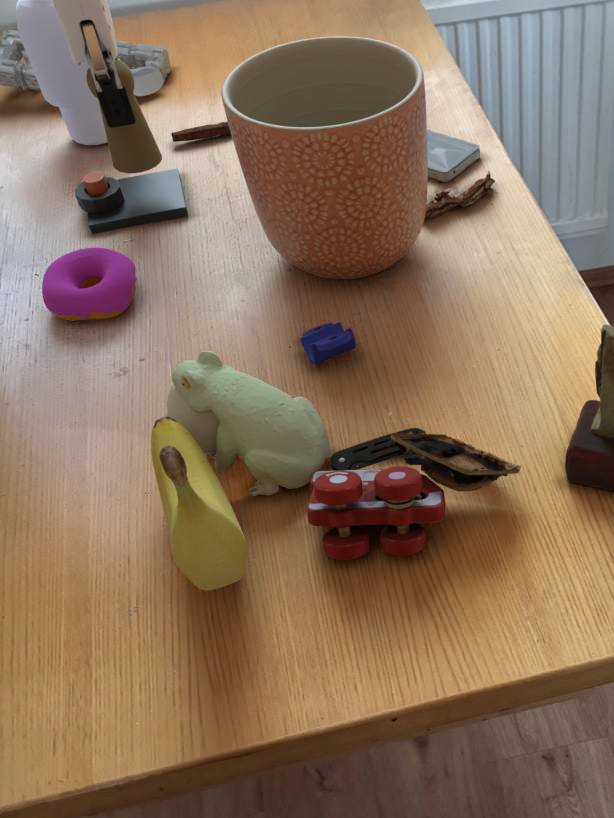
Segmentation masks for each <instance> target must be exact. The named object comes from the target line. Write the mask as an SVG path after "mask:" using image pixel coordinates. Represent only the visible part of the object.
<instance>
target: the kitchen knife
mask: <svg viewBox="0 0 614 818" xmlns="http://www.w3.org/2000/svg"><path fill="white" fill-rule="evenodd" d="M230 134H231V132H230V128H229V125H228V121H221V122H218V123H213V124H212V123H211V124H203V125H200V126H195V127H189V128H185V129H181V130H177V131H175V132H171V133H170V135H171V138H172V142H173V143H176V142H189V141H190V142H191V141H197V140H205V139H211V138H215V137H218V136H227V135H230Z"/></svg>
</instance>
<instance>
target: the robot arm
mask: <svg viewBox="0 0 614 818" xmlns="http://www.w3.org/2000/svg"><path fill="white" fill-rule="evenodd" d="M53 3H54V6H55V8H56V11H57V14H58V17H59V20H60V23H61V26H62V29H63V32H64V35H65V38H66V41H67V44H68V47H69V50H70V53H71V56H72V59H73V62H74V63H75V64H76V65H78V66H81V63H84V61H85V55H86V58H87V61H88V65H89V67H90V70H91V74H92V77H93V80H94V83H95V86H96V89H97V90H96V93H97V96H98V99H99V102H100V104H101V107H102V110H103V113H104V116H105V119H106V121H107V124H108V126H109V127H110V128H114V127H120V126H125V125H131V124H135V122H136V120H135V116H134V113H133V110H132V107H131V104H130V101H129V98H128V95H127V92H126V88H125V85H122V84H121V81H120V78H119V75H118V71H117V68H116V65H115V62H114V60H118V58H117V55H118V52H117V45H116V40H117V39H116V33H115V28H114V22H113V17H112V14H111V9H110V6H109V1H108V0H53ZM90 56H91V57H90ZM106 64H110V67H111V70H112V72H111V70H110V69H107V66H106Z"/></svg>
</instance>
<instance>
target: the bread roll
mask: <svg viewBox="0 0 614 818" xmlns="http://www.w3.org/2000/svg"><path fill="white" fill-rule="evenodd" d="M394 433H395V432H394ZM390 434H391V439H392V440H394V442H393V443H394V445H395V446H398V447H399V448H400V450H401V451H402V452H403V459H404V461H405V462H404V463H405V465H409V466H420V470H421V471H422V472H424V473H425V474H426V476H427V477H428V478H429V479H430V480H432V481H433V482H434V483H436V484H438V485H441V486H443V487H446V488H447V489H449V490H452V491H456V492H474V491H479V490H481V489H482V488H484V487H488V486H489V485H491V484H492V483H494V482H495V481H498V479H499V478H501V477H508V476H509V475H517V474H520V473H519V472H520V471H521V468H522V464H520V465H519V464H516V463H512V462H510V461H508V460H506V459H503V458H502V457H499V456H498V455H496V454H494V453H492V452H490V451H487V450H483V449H479V448H478V449H477V448H476V446H474V445H473V444H471V443H467V442H466V443H465V440H464V441H462V440H461V439H459V438H454V437H452V436H448V435H446V434H443V433H442V434H436V433H433V434H431V433H428V434H427V432H426V433H421V434H416V435H414V434H413V433H407V434H404V433H403V434H398V433H395V434H392V433H390Z"/></svg>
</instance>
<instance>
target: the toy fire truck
mask: <svg viewBox="0 0 614 818" xmlns="http://www.w3.org/2000/svg"><path fill="white" fill-rule="evenodd" d="M309 488H310V498H309V500H308V501H309V502H308V504H307V508H306V513H307V521H308V524H309V525H310V526H313V527H332V528H331V529H329V530H328V531H326V532H325V533H324V534H323V536H322V547H323V551H324V553H325V555H326V556H327V557H329V558H331V559H334V560H339V561H349V560H354V559H358V558H360V557H362V556H364V555H365V554H367V553H368V551H370V547H371V545H370V535H369V532H368V531H367V530H366V529H365V528H363V527H361V526H371V525H373V526H375V525H386V526H385V527H384V528H383V529H382V530H381V532H380V545H381V548H382V549H383V551H384V552H386V553H387V554H389V555H394V556H411V555H414V554H417V553H419V552H421V551H422V550H423V549H424V548H425V547H426V544H427V530H426V528H425V527H424V526H423V525H421V524H425V523H429V524H430V523H438V522H442V521H443V520H444V519H446V495H445V491H444V489H443V488H442V487H441V486H439V484H438V483H436V482H435V481H434V480H432V479H431V478H430V477H429V476H428V475H425V474H423V473H420V471H419V470H418V469H416V468H415V467H410V466H402V465H401V466H400V465H396V466H390V467H387V468H384V469H383V468H372V469H371V468H370V469H369V468H368V469H367V468H366V469H357V470H336V471H334V470H317V471H316V472H315V473H314V474H312V477H311V479H310V480H309Z"/></svg>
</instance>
